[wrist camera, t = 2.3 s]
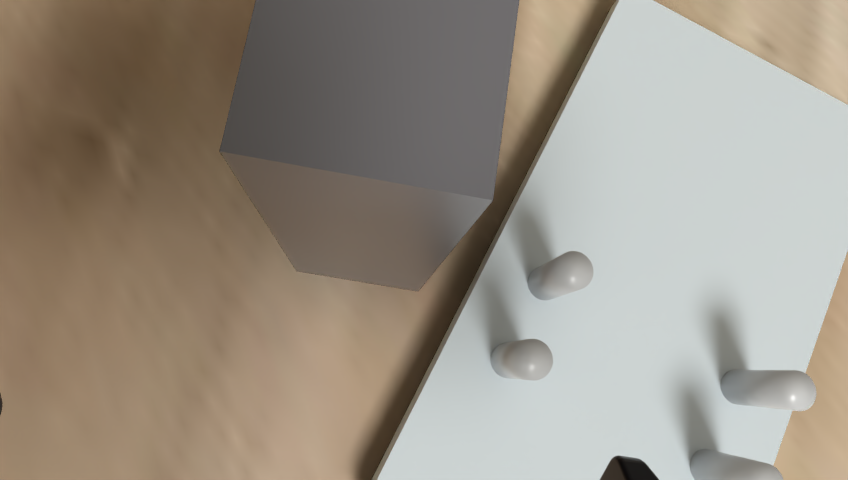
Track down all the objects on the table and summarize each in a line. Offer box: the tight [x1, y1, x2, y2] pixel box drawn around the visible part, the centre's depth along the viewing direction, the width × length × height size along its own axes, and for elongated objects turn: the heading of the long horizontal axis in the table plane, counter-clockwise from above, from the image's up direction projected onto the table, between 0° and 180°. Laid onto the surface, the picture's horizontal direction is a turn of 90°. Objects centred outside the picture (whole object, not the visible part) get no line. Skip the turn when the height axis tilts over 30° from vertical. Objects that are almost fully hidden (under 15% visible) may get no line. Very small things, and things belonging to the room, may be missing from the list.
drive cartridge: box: [220, 0, 519, 291], centre depth 16 cm, size 6×4×12 cm
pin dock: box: [372, 0, 848, 480], centre depth 21 cm, size 22×12×4 cm, turn 152°
